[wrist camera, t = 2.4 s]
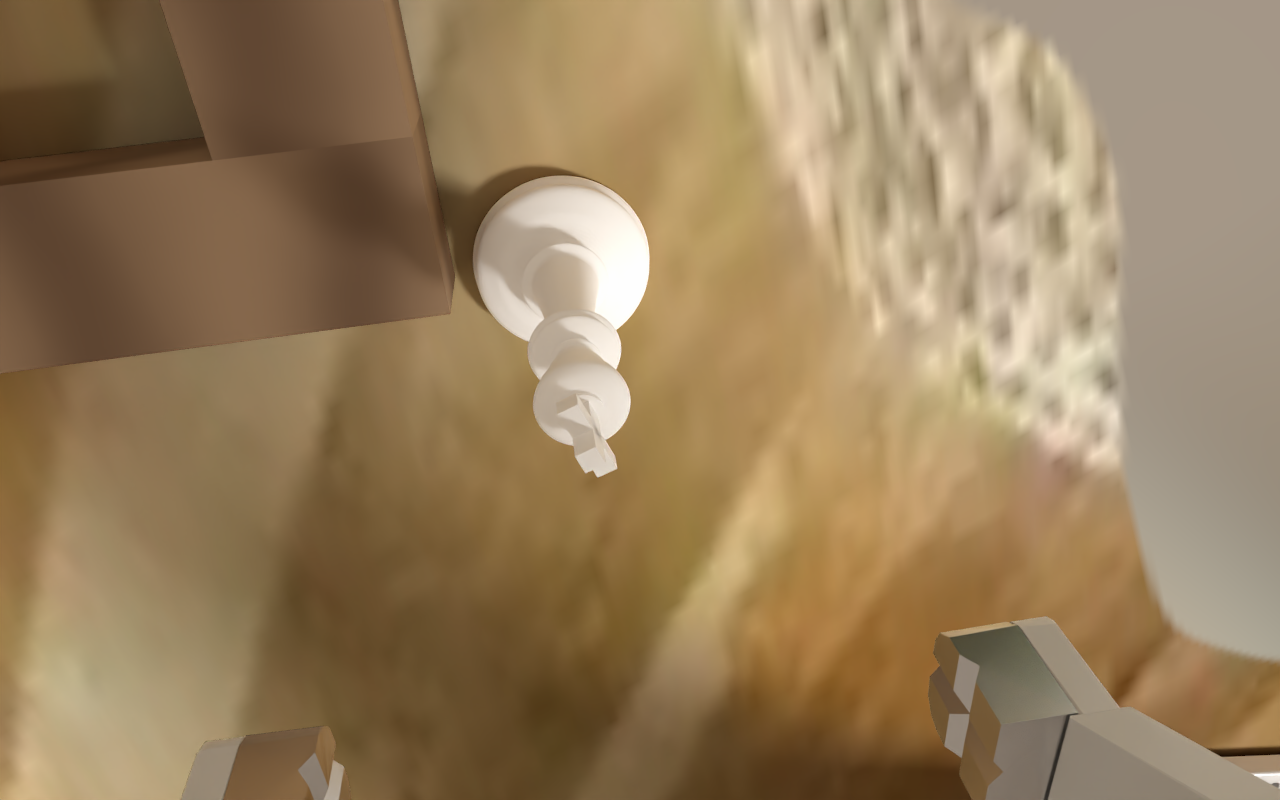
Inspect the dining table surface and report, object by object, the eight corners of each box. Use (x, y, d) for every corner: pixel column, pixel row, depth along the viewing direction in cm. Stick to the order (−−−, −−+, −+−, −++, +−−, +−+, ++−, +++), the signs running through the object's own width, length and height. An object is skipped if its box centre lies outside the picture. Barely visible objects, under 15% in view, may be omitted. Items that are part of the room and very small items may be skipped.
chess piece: (527, 367, 27) (538, 598, 18) (438, 226, 25) (402, 418, 16) (676, 293, 26) (758, 496, 18) (600, 142, 24) (653, 295, 15)
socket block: (292, -512, 17) (261, -566, 15) (454, 276, 25) (450, 313, 23) (-628, -445, 16) (-803, -494, 14) (-146, 354, 24) (-209, 401, 22)
